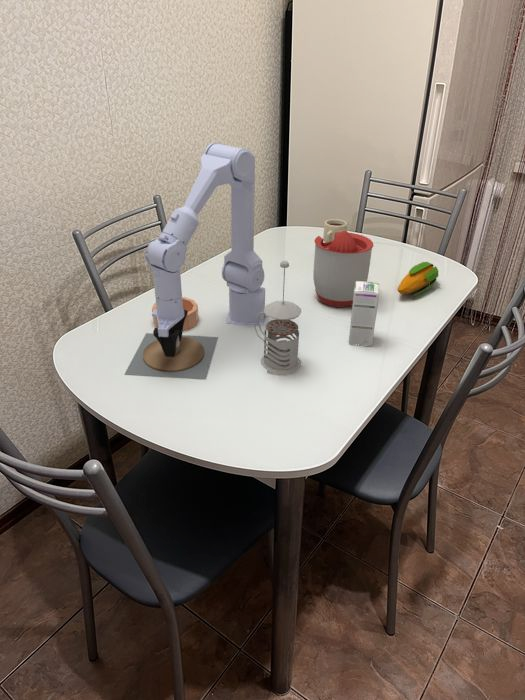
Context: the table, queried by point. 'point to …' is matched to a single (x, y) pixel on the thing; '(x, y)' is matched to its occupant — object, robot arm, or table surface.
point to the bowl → (191, 316)
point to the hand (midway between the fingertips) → (173, 348)
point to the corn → (418, 278)
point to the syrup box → (364, 313)
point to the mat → (196, 372)
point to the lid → (185, 356)
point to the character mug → (333, 229)
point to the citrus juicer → (340, 267)
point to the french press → (281, 336)
